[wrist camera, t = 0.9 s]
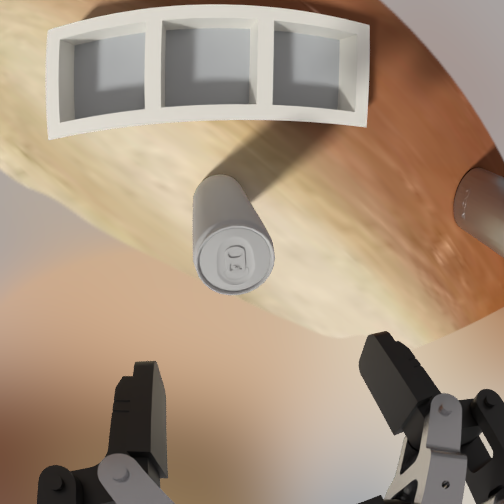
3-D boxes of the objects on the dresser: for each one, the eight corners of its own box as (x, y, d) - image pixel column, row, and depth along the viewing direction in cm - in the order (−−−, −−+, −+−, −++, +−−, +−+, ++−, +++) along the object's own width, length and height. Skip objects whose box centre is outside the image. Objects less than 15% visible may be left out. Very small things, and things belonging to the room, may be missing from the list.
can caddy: (348, 32, 22) (369, 25, 19) (345, 122, 26) (366, 127, 23) (66, 37, 18) (47, 30, 14) (66, 134, 22) (48, 140, 19)
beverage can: (195, 225, 29) (199, 302, 18) (189, 176, 26) (187, 228, 16) (246, 219, 29) (277, 291, 19) (243, 170, 27) (276, 218, 17)
